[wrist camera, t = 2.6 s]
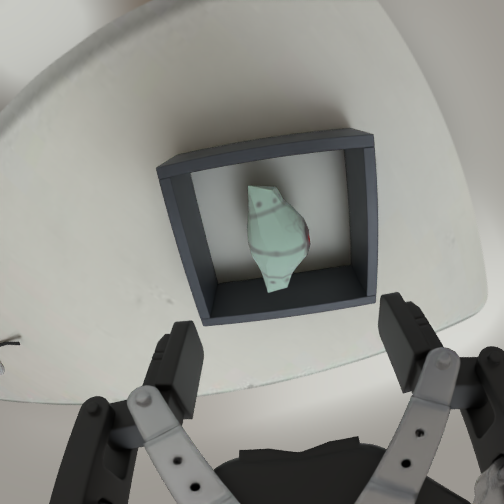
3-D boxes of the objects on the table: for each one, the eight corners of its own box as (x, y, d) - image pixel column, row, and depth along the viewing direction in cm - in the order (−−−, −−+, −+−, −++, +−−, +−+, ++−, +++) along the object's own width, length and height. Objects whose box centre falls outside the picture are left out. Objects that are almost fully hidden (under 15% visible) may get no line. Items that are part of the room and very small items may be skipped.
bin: (351, 127, 21) (373, 134, 17) (359, 271, 27) (376, 303, 22) (175, 155, 22) (155, 167, 18) (211, 291, 28) (203, 326, 24)
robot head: (241, 171, 23) (233, 196, 17) (294, 163, 23) (306, 185, 16) (259, 262, 26) (258, 311, 20) (306, 255, 26) (318, 302, 20)
